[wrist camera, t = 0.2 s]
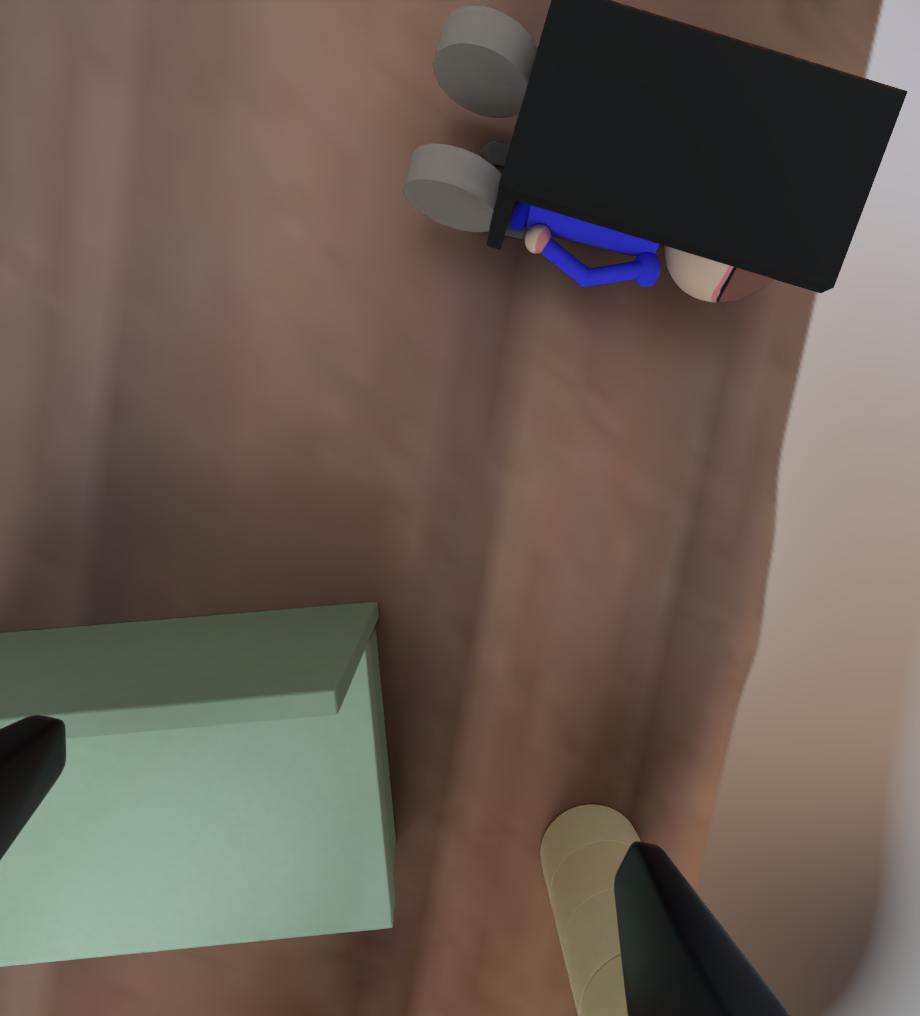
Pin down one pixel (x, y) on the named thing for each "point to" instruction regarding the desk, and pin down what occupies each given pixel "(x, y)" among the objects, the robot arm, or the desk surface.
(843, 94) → the figurine character
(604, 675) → the desk surface
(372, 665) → the shelf
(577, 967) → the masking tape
